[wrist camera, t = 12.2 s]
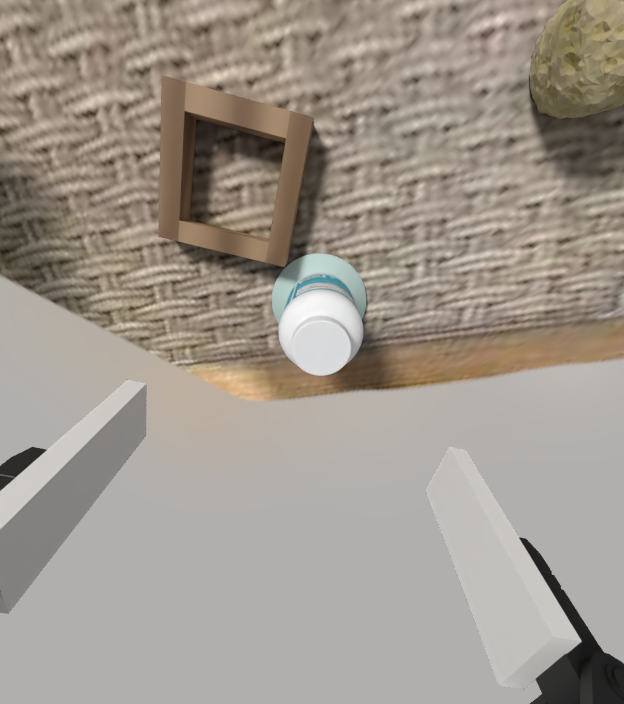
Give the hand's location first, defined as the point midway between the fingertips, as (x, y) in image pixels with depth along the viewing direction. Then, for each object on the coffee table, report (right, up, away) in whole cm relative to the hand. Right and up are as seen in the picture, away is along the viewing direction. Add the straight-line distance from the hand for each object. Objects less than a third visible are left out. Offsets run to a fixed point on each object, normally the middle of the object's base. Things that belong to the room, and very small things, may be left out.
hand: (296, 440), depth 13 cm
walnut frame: (-7, +21, +18) cm, 29 cm away
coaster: (+2, +10, +23) cm, 25 cm away
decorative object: (+24, +29, +14) cm, 40 cm away
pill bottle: (+2, +10, +23) cm, 25 cm away
